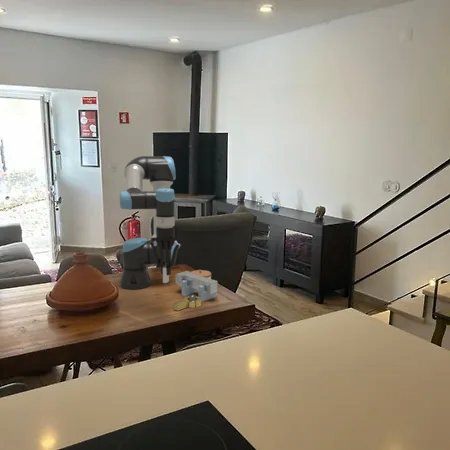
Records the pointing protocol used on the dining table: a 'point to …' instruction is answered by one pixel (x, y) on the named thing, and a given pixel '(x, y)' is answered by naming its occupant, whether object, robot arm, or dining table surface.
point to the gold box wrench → (188, 303)
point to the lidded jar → (202, 273)
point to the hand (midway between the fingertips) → (165, 282)
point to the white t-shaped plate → (196, 281)
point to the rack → (200, 291)
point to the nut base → (192, 297)
